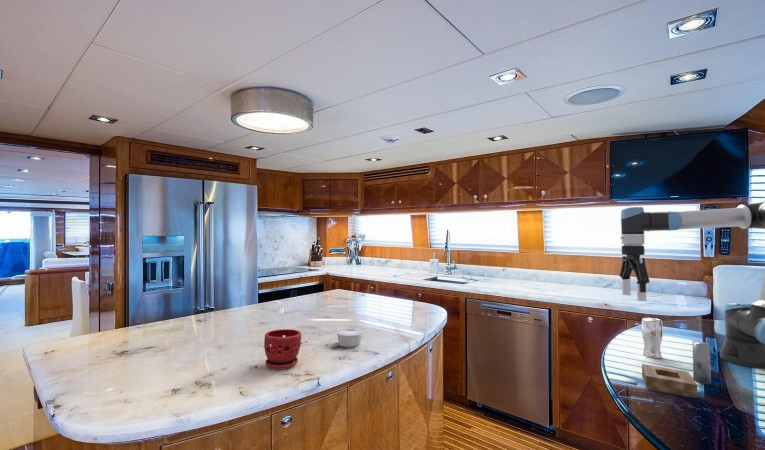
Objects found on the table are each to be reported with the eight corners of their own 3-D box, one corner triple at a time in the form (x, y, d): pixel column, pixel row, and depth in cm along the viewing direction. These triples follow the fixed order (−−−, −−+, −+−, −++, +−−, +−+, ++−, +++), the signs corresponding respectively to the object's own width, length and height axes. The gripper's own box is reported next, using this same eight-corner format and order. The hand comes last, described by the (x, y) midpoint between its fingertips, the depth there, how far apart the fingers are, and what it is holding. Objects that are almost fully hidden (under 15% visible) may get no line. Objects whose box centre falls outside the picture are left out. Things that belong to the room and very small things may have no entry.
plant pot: (299, 371, 122) (300, 336, 123) (260, 372, 120) (261, 338, 121) (301, 358, 135) (302, 327, 136) (267, 359, 133) (267, 328, 133)
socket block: (688, 383, 116) (688, 371, 116) (697, 398, 105) (697, 385, 105) (642, 375, 122) (641, 363, 122) (646, 388, 112) (645, 375, 112)
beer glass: (667, 359, 139) (666, 321, 139) (647, 358, 140) (647, 320, 140) (657, 353, 145) (656, 317, 146) (638, 352, 147) (638, 317, 147)
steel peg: (708, 381, 118) (708, 342, 118) (712, 385, 114) (711, 346, 115) (691, 378, 120) (691, 340, 121) (694, 382, 117) (694, 343, 117)
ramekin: (358, 339, 161) (358, 327, 161) (364, 346, 150) (365, 334, 150) (334, 341, 157) (334, 329, 157) (339, 349, 147) (339, 336, 147)
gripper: (610, 244, 153) (611, 292, 152) (636, 245, 129) (637, 302, 128) (629, 244, 151) (630, 293, 150) (659, 245, 127) (661, 303, 126)
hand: (633, 297), depth 139 cm, fingers open, 13 cm apart
